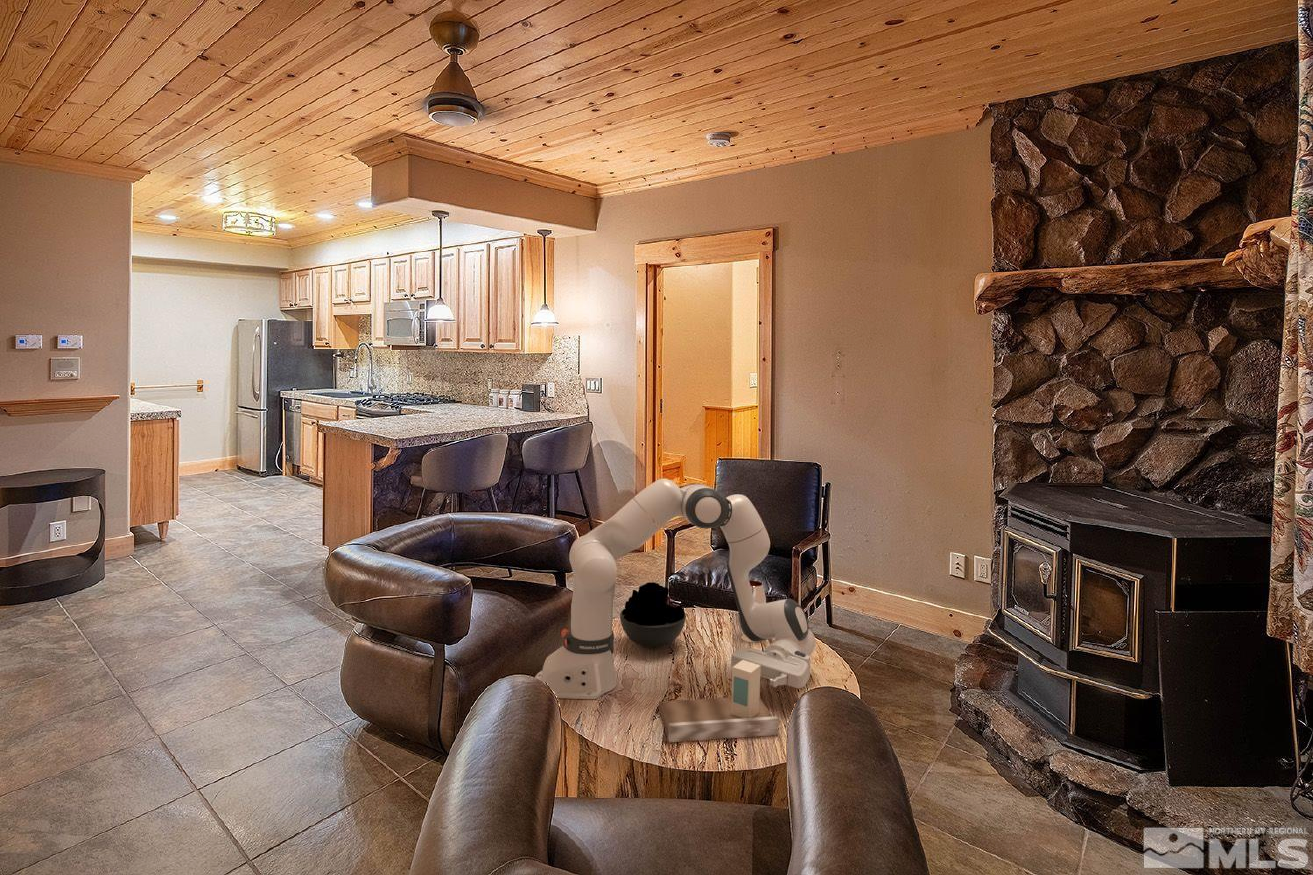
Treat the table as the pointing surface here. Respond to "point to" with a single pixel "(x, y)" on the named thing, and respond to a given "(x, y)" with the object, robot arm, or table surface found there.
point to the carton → (745, 689)
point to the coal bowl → (651, 617)
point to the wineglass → (756, 599)
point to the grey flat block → (713, 720)
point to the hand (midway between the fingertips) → (755, 677)
